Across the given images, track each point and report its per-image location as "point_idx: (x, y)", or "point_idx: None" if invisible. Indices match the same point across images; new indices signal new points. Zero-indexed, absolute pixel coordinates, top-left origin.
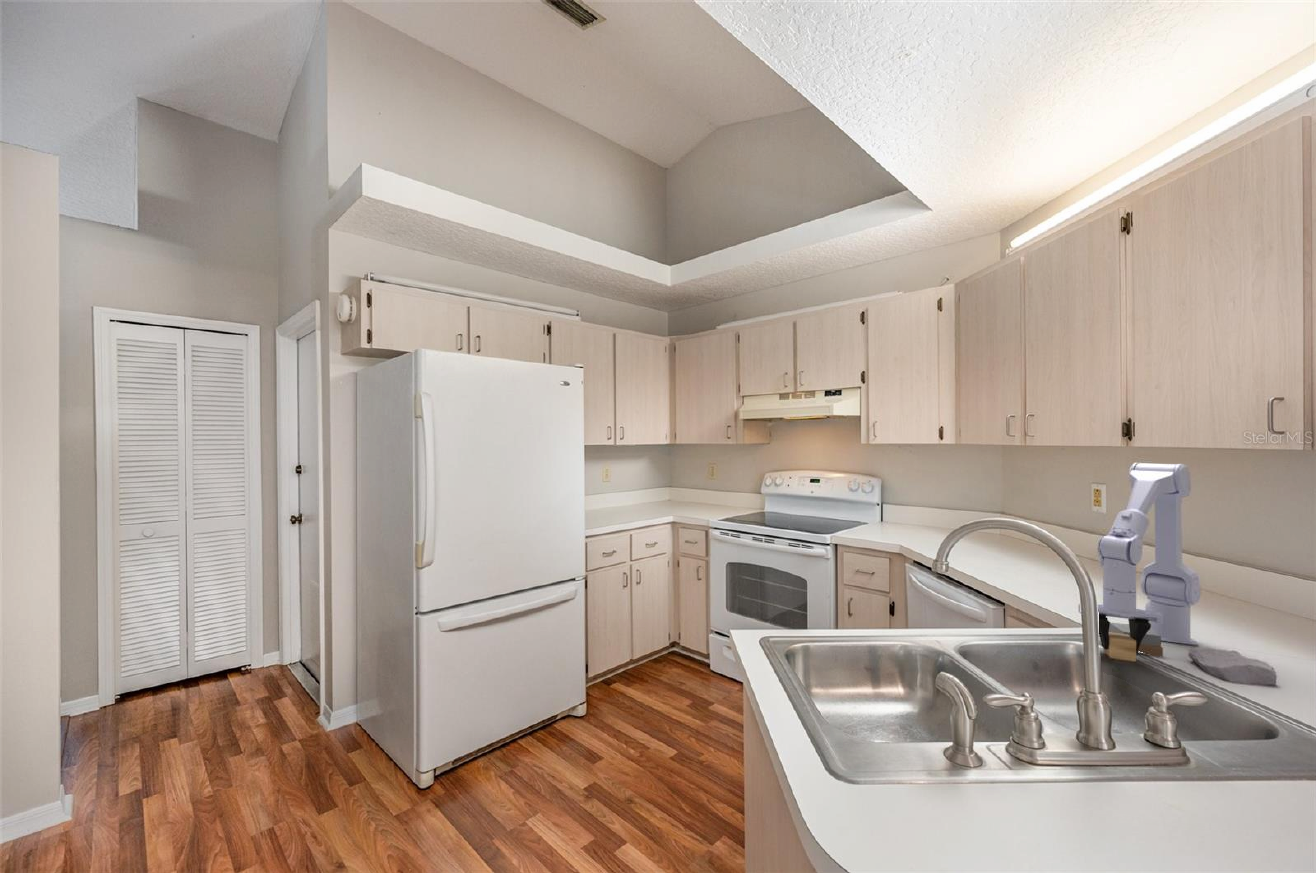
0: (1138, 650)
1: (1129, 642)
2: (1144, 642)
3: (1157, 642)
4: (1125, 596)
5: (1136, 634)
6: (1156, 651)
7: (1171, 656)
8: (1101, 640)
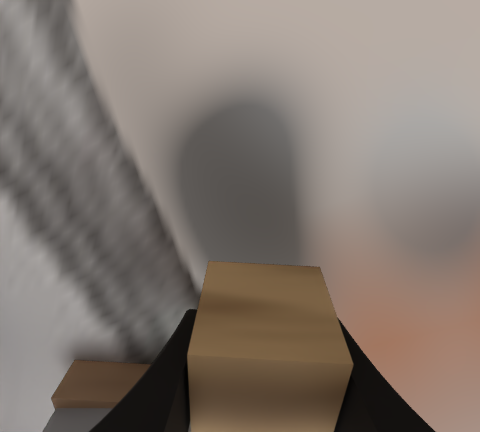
0: None
1: (231, 342)
2: None
3: (58, 429)
4: None
5: (168, 415)
6: (86, 379)
7: (42, 371)
8: None
